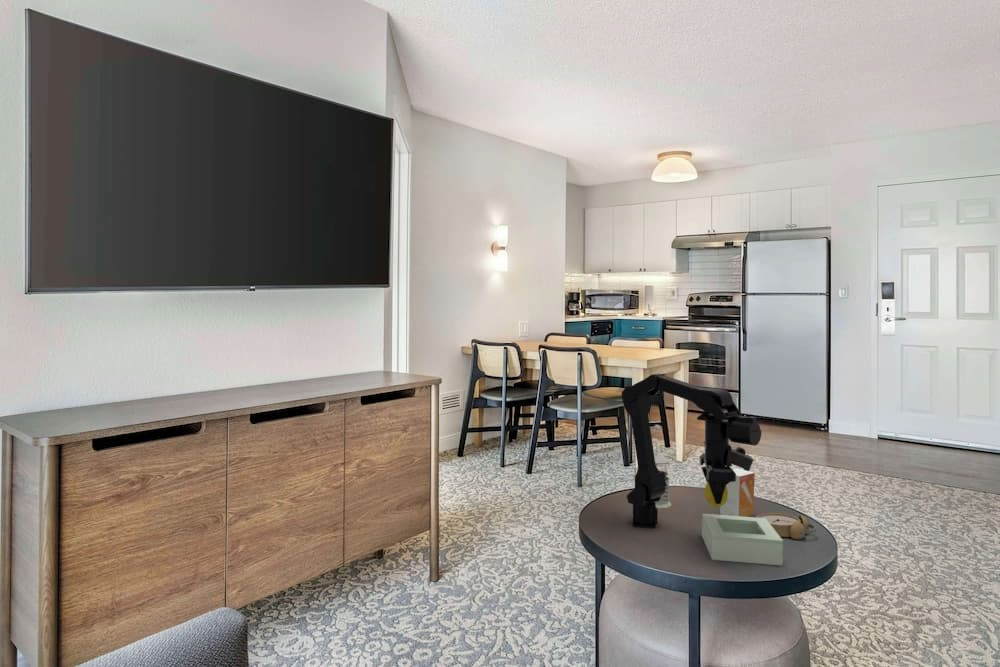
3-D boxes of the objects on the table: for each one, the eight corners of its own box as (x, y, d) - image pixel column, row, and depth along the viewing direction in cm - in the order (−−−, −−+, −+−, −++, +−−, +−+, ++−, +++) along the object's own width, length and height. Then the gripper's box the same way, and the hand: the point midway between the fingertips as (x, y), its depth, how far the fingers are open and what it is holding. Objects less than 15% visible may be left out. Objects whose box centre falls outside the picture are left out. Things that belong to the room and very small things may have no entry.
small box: (738, 520, 170) (739, 476, 170) (719, 514, 175) (720, 471, 175) (754, 515, 175) (755, 472, 174) (734, 509, 180) (735, 467, 179)
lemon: (729, 512, 145) (729, 480, 145) (705, 510, 147) (706, 479, 146) (725, 505, 151) (726, 474, 151) (703, 504, 152) (703, 473, 152)
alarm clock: (761, 511, 170) (818, 513, 161) (764, 528, 170) (821, 531, 160) (749, 521, 161) (809, 524, 152) (752, 539, 161) (812, 543, 152)
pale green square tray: (711, 559, 142) (712, 535, 142) (701, 535, 158) (702, 513, 157) (782, 565, 139) (783, 540, 139) (764, 540, 155) (765, 518, 154)
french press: (676, 508, 180) (677, 427, 180) (638, 508, 180) (640, 427, 179) (666, 498, 190) (667, 422, 189) (631, 498, 190) (632, 421, 189)
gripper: (758, 448, 138) (758, 514, 138) (743, 433, 156) (742, 492, 156) (709, 446, 140) (708, 510, 140) (699, 432, 158) (699, 489, 158)
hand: (716, 500), depth 149 cm, fingers closed on lemon, 5 cm apart
